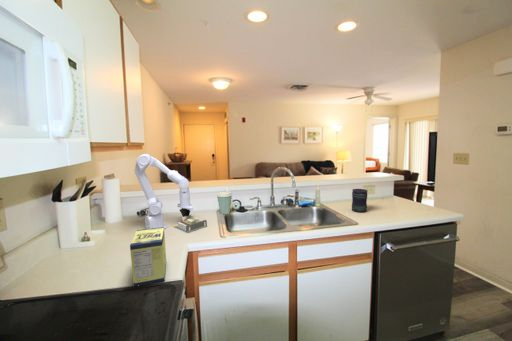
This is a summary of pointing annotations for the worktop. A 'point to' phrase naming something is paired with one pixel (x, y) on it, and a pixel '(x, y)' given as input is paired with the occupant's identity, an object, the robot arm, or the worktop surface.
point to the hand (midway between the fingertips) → (185, 220)
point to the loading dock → (191, 226)
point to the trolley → (189, 220)
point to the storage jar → (359, 200)
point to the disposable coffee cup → (224, 201)
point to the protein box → (148, 256)
